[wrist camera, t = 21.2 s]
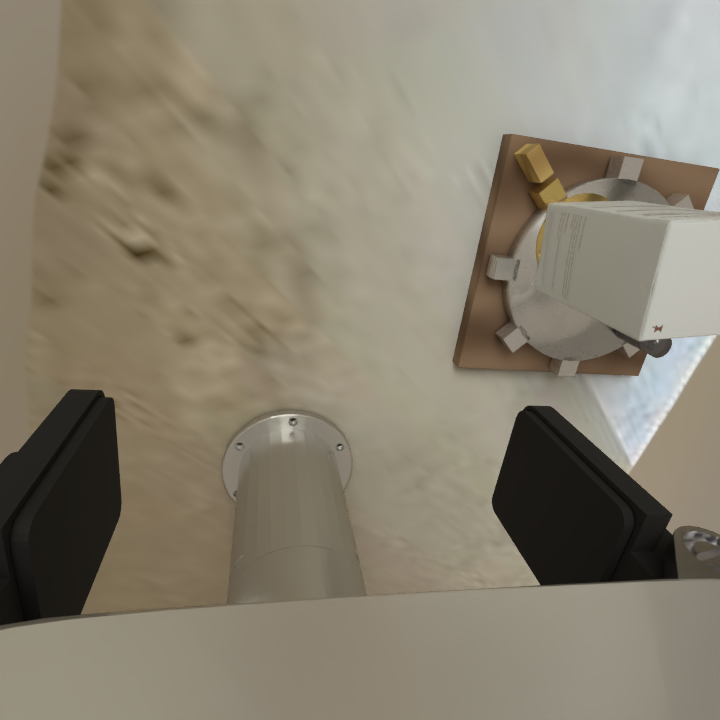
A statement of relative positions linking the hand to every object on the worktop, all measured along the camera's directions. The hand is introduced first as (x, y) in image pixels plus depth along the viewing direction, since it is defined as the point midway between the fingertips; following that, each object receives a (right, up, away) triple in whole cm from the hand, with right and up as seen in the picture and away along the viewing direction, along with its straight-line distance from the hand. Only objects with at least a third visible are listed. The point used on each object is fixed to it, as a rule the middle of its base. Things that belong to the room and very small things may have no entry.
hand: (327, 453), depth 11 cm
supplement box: (+19, +12, +28) cm, 36 cm away
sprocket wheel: (+21, +10, +31) cm, 39 cm away
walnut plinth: (+21, +11, +33) cm, 41 cm away
